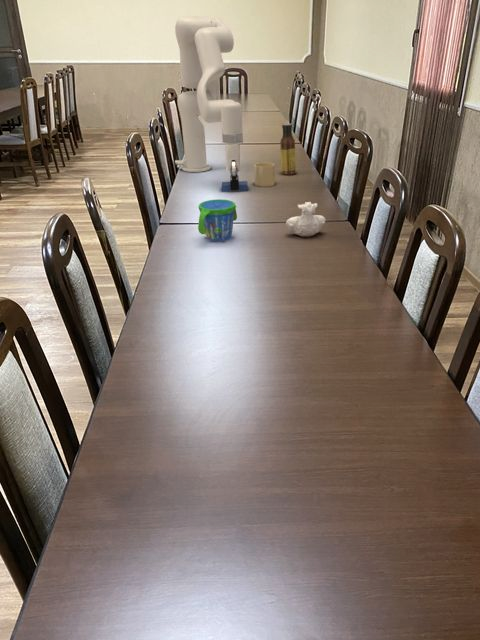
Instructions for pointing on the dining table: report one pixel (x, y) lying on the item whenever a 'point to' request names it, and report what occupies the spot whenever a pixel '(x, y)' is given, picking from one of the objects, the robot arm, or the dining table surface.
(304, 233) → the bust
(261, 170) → the beige cup
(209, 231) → the snack cup
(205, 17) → the robot arm
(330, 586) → the dining table surface
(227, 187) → the block
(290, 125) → the sauce bottle
